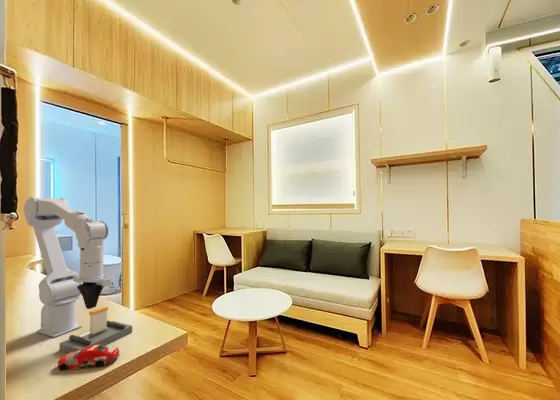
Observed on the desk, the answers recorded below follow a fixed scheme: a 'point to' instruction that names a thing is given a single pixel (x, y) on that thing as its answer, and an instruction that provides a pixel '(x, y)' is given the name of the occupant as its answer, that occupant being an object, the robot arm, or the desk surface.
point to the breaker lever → (98, 321)
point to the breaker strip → (96, 337)
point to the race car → (89, 357)
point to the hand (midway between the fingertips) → (91, 307)
